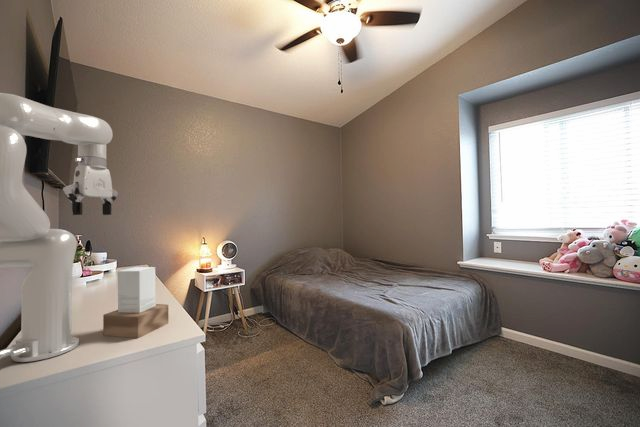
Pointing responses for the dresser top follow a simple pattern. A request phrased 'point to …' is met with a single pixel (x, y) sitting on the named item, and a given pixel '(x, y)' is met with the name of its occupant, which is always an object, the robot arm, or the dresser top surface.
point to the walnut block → (135, 322)
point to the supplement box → (136, 289)
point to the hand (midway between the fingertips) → (93, 214)
